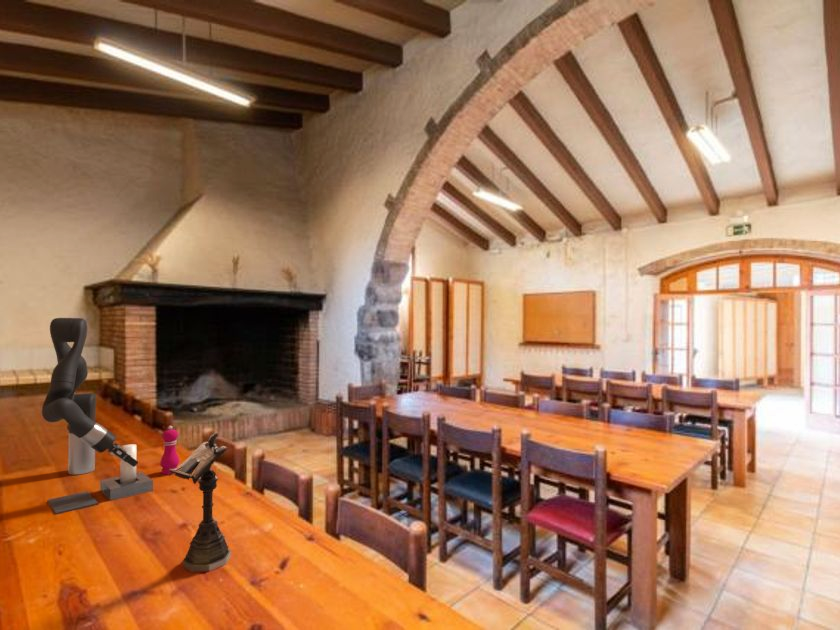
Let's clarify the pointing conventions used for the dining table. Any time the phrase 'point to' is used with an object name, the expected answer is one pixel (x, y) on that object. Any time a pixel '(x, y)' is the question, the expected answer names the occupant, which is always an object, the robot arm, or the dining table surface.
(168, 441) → the pepper mill
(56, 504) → the mat
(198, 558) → the ornate lectern
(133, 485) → the block
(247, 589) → the dining table surface
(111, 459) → the dining table surface
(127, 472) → the plug
